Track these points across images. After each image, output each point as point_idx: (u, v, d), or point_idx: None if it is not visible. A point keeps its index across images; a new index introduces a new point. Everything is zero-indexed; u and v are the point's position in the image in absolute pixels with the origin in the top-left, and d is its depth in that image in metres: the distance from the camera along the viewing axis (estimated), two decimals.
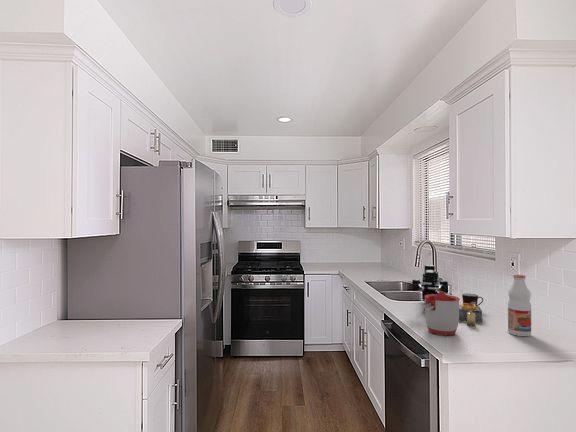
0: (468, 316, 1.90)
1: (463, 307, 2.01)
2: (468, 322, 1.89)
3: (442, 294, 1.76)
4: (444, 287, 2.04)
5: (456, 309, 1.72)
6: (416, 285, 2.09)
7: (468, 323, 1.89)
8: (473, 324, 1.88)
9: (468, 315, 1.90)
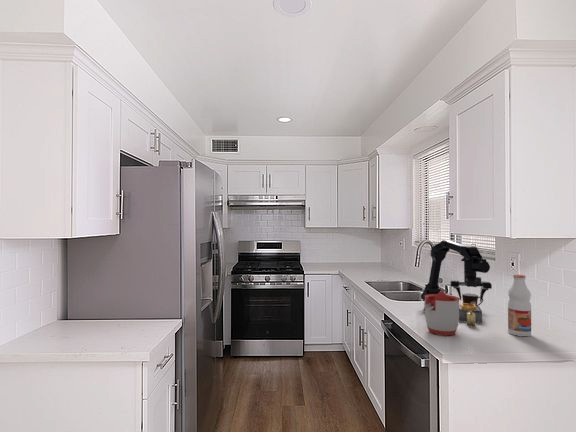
0: (468, 316, 1.90)
1: (463, 307, 2.01)
2: (468, 322, 1.89)
3: (442, 294, 1.76)
4: None
5: (456, 309, 1.72)
6: None
7: (468, 323, 1.89)
8: (473, 324, 1.88)
9: (468, 315, 1.90)
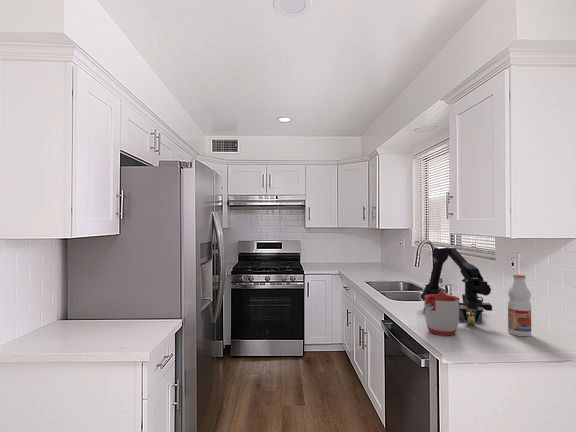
0: (468, 316, 1.90)
1: None
2: (468, 322, 1.89)
3: (442, 294, 1.76)
4: None
5: (456, 309, 1.72)
6: None
7: (468, 323, 1.89)
8: (473, 324, 1.88)
9: (468, 315, 1.90)
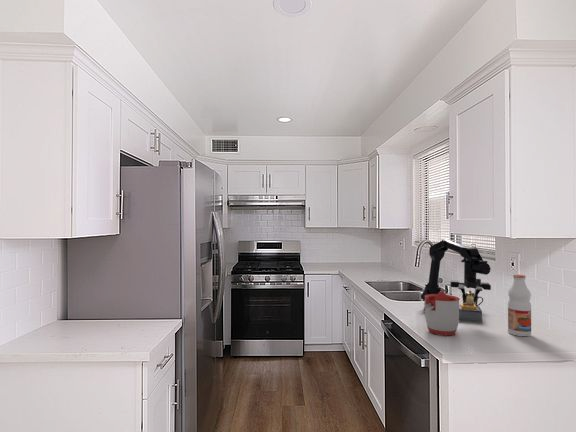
0: (467, 295, 1.93)
1: (463, 307, 2.01)
2: (467, 301, 1.93)
3: (442, 294, 1.76)
4: None
5: (456, 309, 1.72)
6: (460, 288, 1.95)
7: (467, 302, 1.93)
8: (472, 303, 1.92)
9: (467, 294, 1.93)
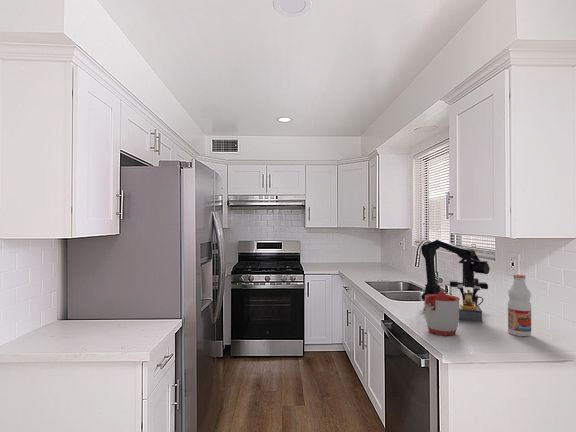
0: (465, 294, 2.03)
1: (463, 307, 2.01)
2: (465, 300, 2.03)
3: (442, 294, 1.76)
4: None
5: (456, 309, 1.72)
6: None
7: (465, 301, 2.03)
8: (470, 302, 2.02)
9: (465, 293, 2.03)
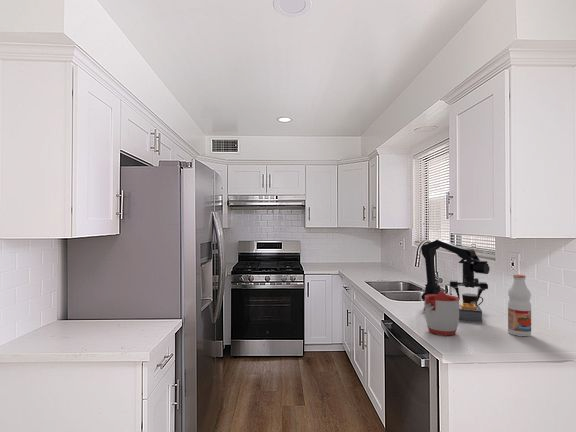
0: None
1: (463, 307, 2.01)
2: None
3: (442, 294, 1.76)
4: None
5: (456, 309, 1.72)
6: None
7: None
8: None
9: None
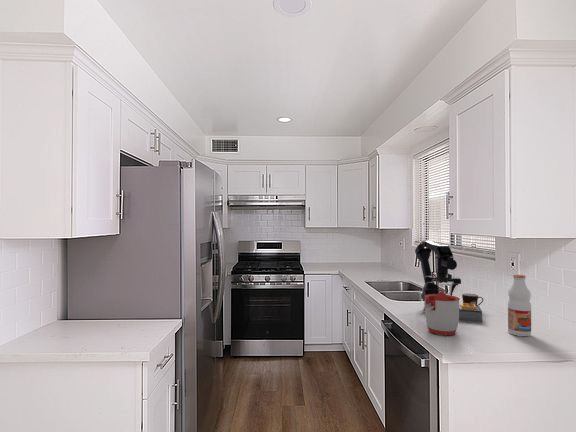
0: None
1: (463, 307, 2.01)
2: None
3: (442, 294, 1.76)
4: None
5: (456, 309, 1.72)
6: None
7: None
8: None
9: None
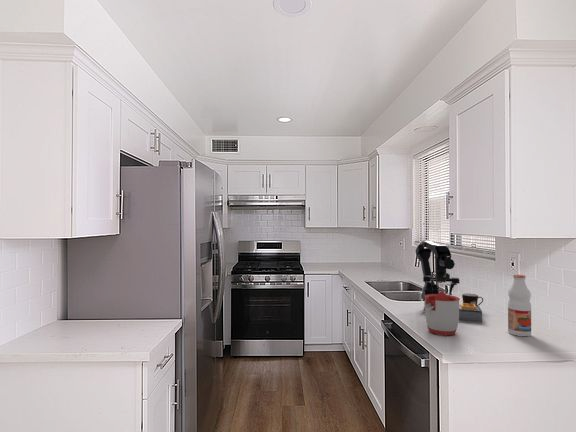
0: None
1: (463, 307, 2.01)
2: None
3: (442, 294, 1.76)
4: None
5: (456, 309, 1.72)
6: None
7: None
8: None
9: None
